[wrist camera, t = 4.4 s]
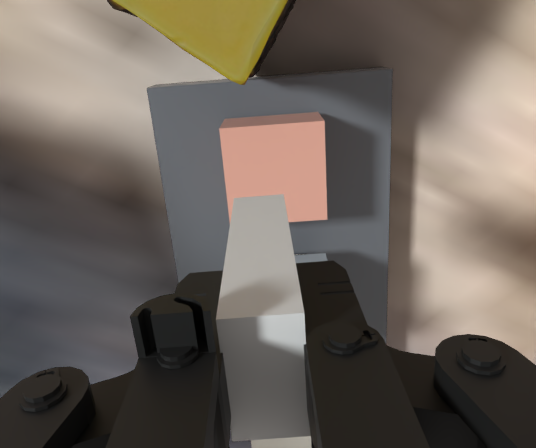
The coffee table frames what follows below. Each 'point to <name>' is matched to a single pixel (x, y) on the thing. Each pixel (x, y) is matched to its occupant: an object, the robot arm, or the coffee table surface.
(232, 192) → the key coral
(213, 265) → the keypad base
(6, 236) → the coffee table surface
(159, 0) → the candle
